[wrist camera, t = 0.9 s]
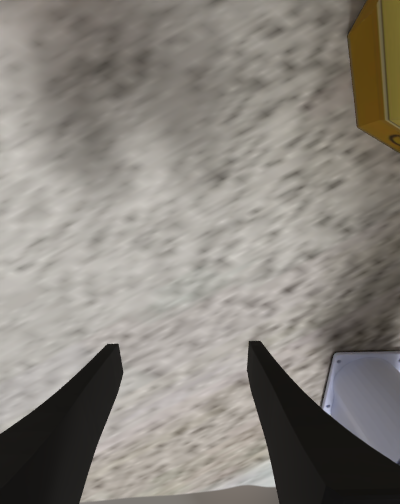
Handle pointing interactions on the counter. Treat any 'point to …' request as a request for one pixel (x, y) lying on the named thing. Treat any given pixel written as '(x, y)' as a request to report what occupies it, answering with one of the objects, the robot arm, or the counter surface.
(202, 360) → the counter surface
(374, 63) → the container
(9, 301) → the counter surface
